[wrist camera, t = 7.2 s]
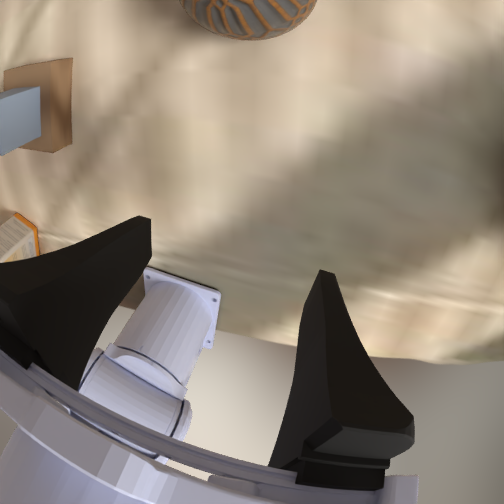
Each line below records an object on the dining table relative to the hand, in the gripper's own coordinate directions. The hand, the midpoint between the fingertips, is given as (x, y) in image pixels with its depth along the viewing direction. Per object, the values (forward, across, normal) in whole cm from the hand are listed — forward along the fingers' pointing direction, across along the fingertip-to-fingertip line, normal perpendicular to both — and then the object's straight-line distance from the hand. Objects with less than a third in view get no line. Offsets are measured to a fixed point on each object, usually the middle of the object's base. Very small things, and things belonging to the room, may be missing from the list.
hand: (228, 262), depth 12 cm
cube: (+7, +22, -3) cm, 23 cm away
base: (+10, +22, -3) cm, 25 cm away
